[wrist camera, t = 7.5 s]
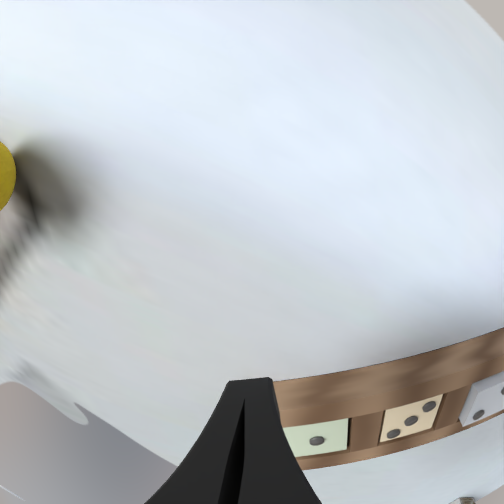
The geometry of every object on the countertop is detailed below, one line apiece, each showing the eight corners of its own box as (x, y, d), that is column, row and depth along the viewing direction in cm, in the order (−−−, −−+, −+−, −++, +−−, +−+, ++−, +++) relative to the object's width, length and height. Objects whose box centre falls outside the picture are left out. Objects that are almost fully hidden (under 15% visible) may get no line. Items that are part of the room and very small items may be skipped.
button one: (342, 392, 23) (348, 420, 21) (342, 425, 25) (346, 451, 22) (281, 401, 24) (282, 429, 21) (288, 433, 26) (289, 459, 23)
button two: (506, 354, 20) (521, 374, 18) (492, 390, 22) (504, 410, 20) (465, 370, 21) (479, 393, 18) (452, 405, 23) (463, 428, 20)
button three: (431, 371, 22) (444, 395, 20) (422, 406, 24) (431, 429, 22) (377, 384, 23) (386, 411, 20) (373, 419, 25) (380, 444, 22)
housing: (525, 319, 20) (542, 337, 17) (498, 391, 24) (509, 409, 21) (244, 384, 23) (242, 414, 20) (265, 448, 27) (264, 473, 24)
